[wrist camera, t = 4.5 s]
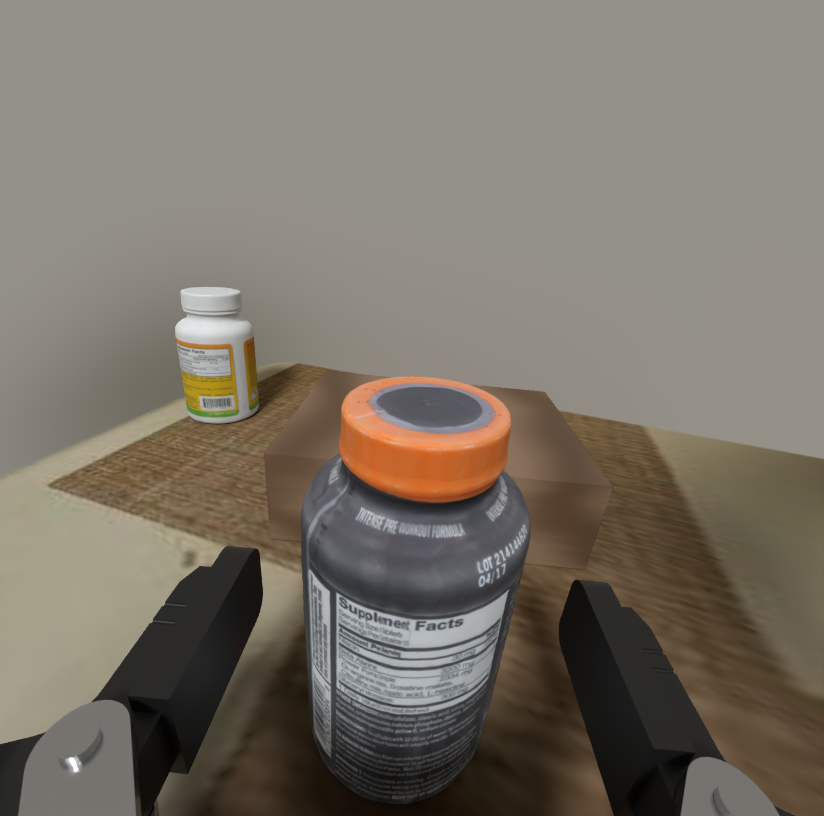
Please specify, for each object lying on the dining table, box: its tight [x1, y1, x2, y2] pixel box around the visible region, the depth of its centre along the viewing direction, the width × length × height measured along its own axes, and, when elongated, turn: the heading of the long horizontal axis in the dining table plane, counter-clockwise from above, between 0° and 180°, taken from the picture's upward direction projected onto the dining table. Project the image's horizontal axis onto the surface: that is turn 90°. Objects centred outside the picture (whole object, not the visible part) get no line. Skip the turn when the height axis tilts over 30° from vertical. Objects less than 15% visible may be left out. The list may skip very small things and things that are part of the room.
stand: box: [264, 371, 613, 569], centre depth 25 cm, size 16×12×5 cm
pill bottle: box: [301, 376, 531, 804], centre depth 12 cm, size 6×6×11 cm
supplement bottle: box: [175, 287, 259, 424], centre depth 31 cm, size 5×5×10 cm
